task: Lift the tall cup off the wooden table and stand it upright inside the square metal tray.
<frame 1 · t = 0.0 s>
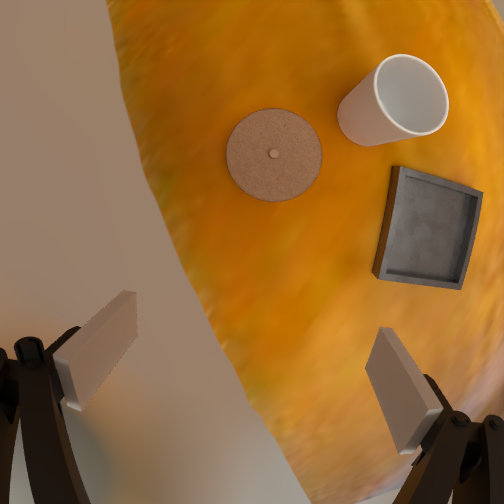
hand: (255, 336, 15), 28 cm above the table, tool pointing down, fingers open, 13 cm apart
square metal tray: (427, 229, 40), on the table
cup: (364, 118, 37), on the table
lidded jar: (273, 157, 40), on the table
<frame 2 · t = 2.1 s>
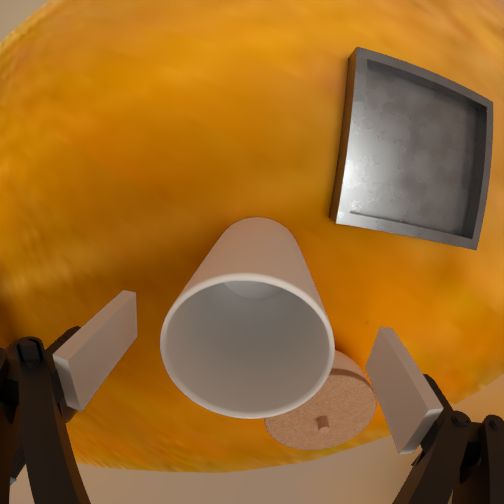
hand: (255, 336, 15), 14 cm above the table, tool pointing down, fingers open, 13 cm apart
square metal tray: (416, 152, 25), on the table
cup: (257, 259, 29), on the table
lidded jar: (312, 369, 32), on the table
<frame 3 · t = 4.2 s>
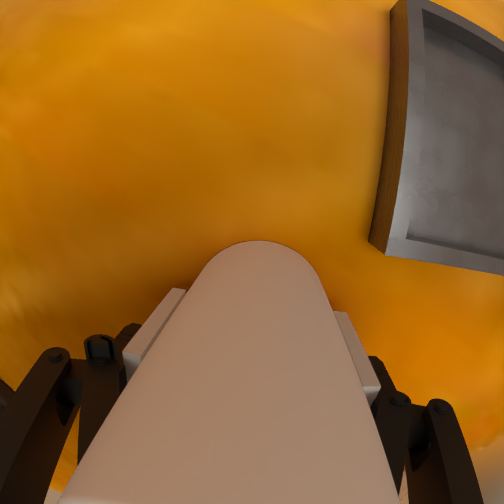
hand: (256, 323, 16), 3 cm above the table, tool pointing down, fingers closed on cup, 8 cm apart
square metal tray: (483, 148, 15), on the table
cup: (258, 303, 19), on the table, touching gripper
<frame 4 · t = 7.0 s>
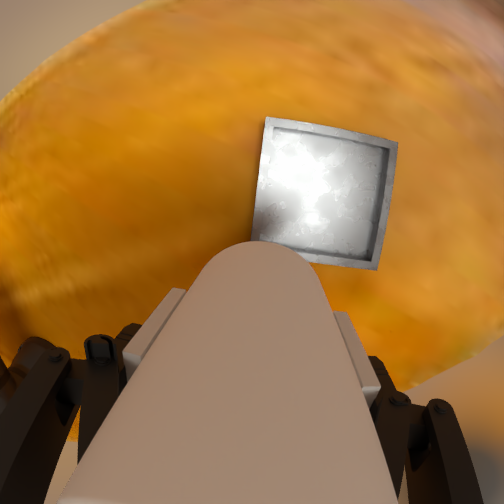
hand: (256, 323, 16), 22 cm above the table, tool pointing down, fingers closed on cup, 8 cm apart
square metal tray: (322, 193, 36), on the table
cup: (258, 303, 19), point 20 cm above the table, touching gripper
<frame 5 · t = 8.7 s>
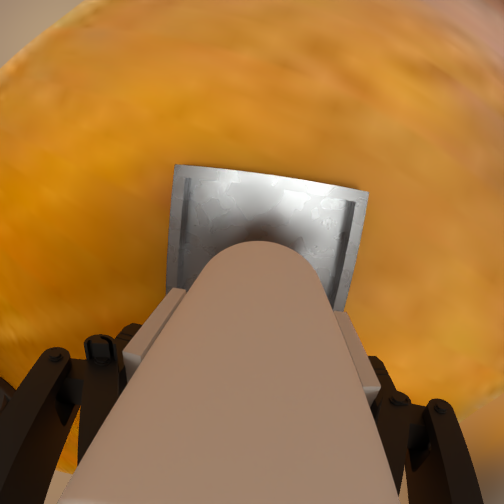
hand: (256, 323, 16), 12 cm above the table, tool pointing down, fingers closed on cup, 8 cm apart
square metal tray: (260, 261, 28), on the table
cup: (258, 303, 19), point 10 cm above the table, touching gripper
when the fingers open (5 cm above the table, at t = 10.3 s): cup drops 1 cm, resting on square metal tray.
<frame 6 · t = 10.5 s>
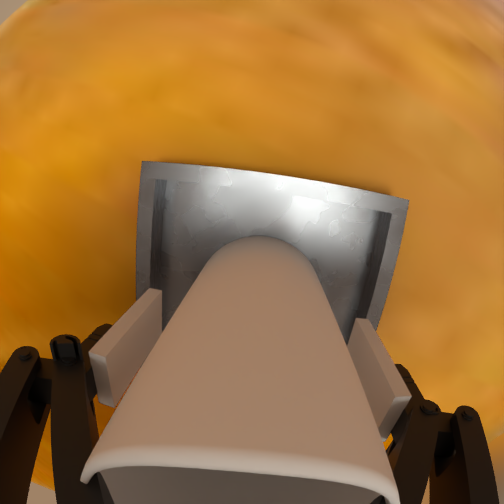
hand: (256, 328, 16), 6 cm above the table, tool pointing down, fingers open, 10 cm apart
square metal tray: (260, 289, 21), on the table
cup: (258, 294, 20), point 1 cm above the table, touching square metal tray
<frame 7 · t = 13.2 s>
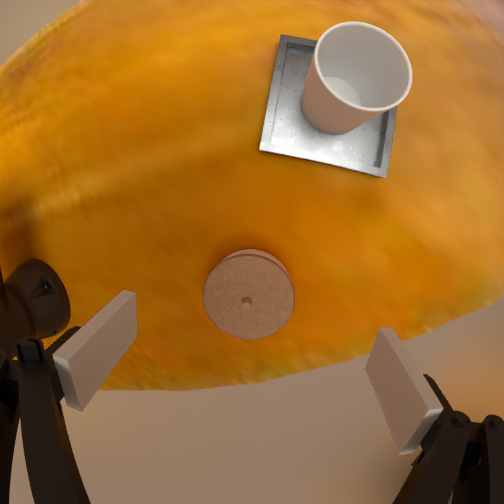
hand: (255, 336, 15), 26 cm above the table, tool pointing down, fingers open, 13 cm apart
square metal tray: (331, 106, 35), on the table
cup: (332, 104, 34), point 1 cm above the table, touching square metal tray
lidded jar: (253, 277, 42), on the table
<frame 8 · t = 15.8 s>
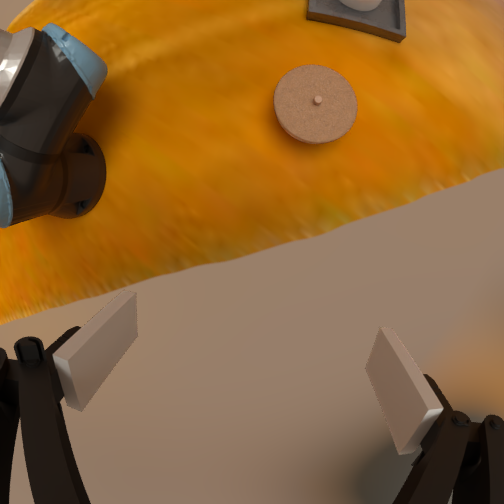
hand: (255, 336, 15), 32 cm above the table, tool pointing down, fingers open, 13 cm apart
lidded jar: (308, 113, 41), on the table
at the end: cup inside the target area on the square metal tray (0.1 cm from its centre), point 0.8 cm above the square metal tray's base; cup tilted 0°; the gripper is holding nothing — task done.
